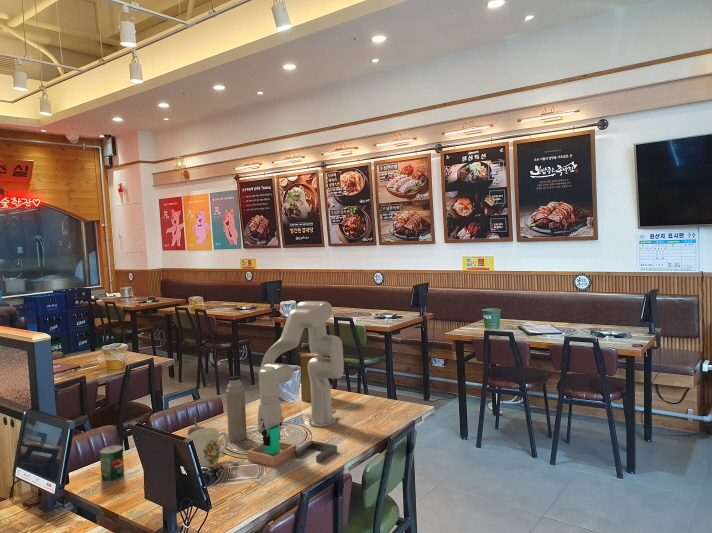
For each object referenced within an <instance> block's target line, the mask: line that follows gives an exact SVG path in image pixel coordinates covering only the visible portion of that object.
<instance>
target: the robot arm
mask: <svg viewBox="0 0 712 533" xmlns="http://www.w3.org/2000/svg"><path fill="white" fill-rule="evenodd" d="M332 314H333V307H332V305H331V303H330V302H328V301H324V300H323V301H320V300H319V301H318V300H317V301H314V300H304V301H299V302H298V303H297V304H296V308H294V309H291V310H290V311H289V312H288V315H287V317H286V321H285V323H284V327H283V329H282V333H281V335H280V338H279V339H278V340H277V341H276V342H274V343H273V345H272V346H270V348H268V349H267V351H266V352H265V354H264V356H263V358H262V361H261V363H260V368H259V372H258V382H259V398H260V400H259V402H260V403H259V404H258V410H257V411H258V412H257V430H256V431H257V432H258V433H259V435H261V436H262V443H263V445H266V446H270V436H269V430H270V428H272V427H274V426H279V439H280V440H281V430H282V425H283V422H284V420H285V418H284V417H283V414H282V412H283V411H282V406H281V400H280V390H279V385H280V384H285V383H288V382H290V381H291V380H292V379H293V377H294V373H295V372H294V368H293V367H292V365H290V364H287V363H286V364H285V363H279V362H276V360H277V358H279V357H280V356H281V355H282V354H283V353H286V352H288V351H291V350H293V349H295V348H297V347H298V346H299V345H300V343H301V338H302V336H303V333H304V329H307V331H308V332H307V333H308V345H309V351H310V353H313V354H316V355H326V356H327V357H314V358H312V359H310V360H309V362H308V373H309V377H310V385H311V401H310V402H311V418H310V419H309V420H308V424H309V425H310V426H312V427H316V428H323V427H324V428H325V427H328V426H332V425H333V424H335V422H336V418H335V417H334V416H333V415H335V414H336V413H337V410H336V409H332V389H331V383H330V381H329V379H335V380H337V379H340V378H342V376H343V374H344V368H345V367H344V363H345V362H344V349H343V343H342V342H343V341H342V340H341V338H340V337H339V336H337V335H332V334H331V335H330V334H327V325H326V322H327V321H329V319H330V318H331V317H332ZM328 356H329V357H328ZM265 430H267V431H266V432H265Z"/></svg>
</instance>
